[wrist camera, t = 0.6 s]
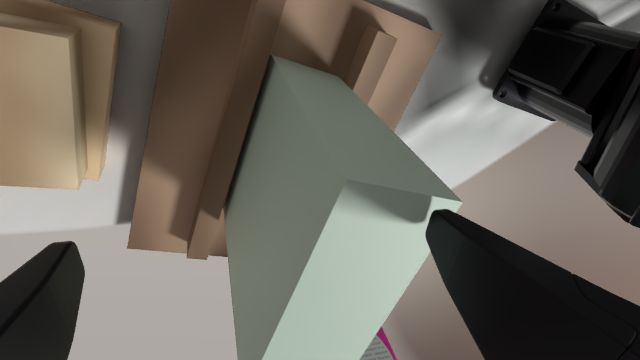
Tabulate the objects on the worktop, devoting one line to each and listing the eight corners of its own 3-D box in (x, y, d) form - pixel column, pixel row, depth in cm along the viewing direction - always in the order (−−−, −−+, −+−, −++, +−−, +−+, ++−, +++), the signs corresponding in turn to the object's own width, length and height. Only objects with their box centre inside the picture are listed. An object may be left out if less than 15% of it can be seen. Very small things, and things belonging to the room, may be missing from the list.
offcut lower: (123, 21, 18) (115, 29, 16) (106, 162, 21) (98, 180, 20) (-8, -20, 16) (-32, -15, 14) (-3, 144, 19) (-22, 163, 18)
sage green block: (338, 76, 21) (463, 202, 11) (282, 216, 25) (336, 394, 15) (270, 54, 19) (347, 179, 9) (223, 208, 23) (241, 402, 14)
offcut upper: (80, 28, 16) (68, 38, 14) (88, 168, 19) (78, 189, 17) (-40, 4, 14) (-69, 13, 13) (-10, 161, 18) (-30, 183, 16)
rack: (433, 31, 22) (457, 41, 20) (322, 256, 30) (332, 279, 28) (185, -78, 16) (183, -80, 14) (129, 237, 24) (123, 265, 22)
